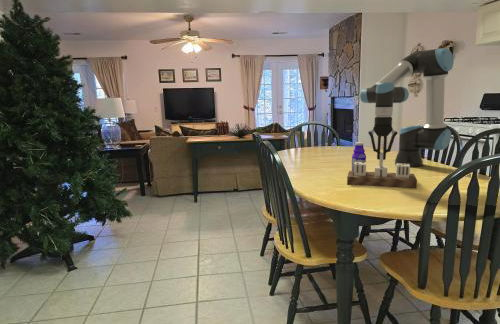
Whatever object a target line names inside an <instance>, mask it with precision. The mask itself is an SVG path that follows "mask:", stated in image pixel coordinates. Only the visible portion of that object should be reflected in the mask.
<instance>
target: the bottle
mask: <svg viewBox="0 0 500 324" xmlns="http://www.w3.org/2000/svg"><path fill="white" fill-rule="evenodd" d="M365 152H366V150H365V149H364V142H362V141H358V142H357V141H356V142H355V143H354V149H353V153H352V155H351V171H354V163H355V162H366V163H367V156H366V153H365Z"/></svg>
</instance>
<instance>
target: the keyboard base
mask: <svg viewBox="0 0 500 324" xmlns="http://www.w3.org/2000/svg"><path fill="white" fill-rule="evenodd" d="M346 184H347V186H358V187H359V186H363V187H377V188H378V187H379V188H392V189H393V188H395V189H409V190H411V189H412V190H417V189H418V188H417V187H418V179H417V177H416V175H415V173H410V175H409V178H396V172H387V177H375V171H366V176H355V175H354V171H352V170H349V171H348V173H347V178H346Z"/></svg>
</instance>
